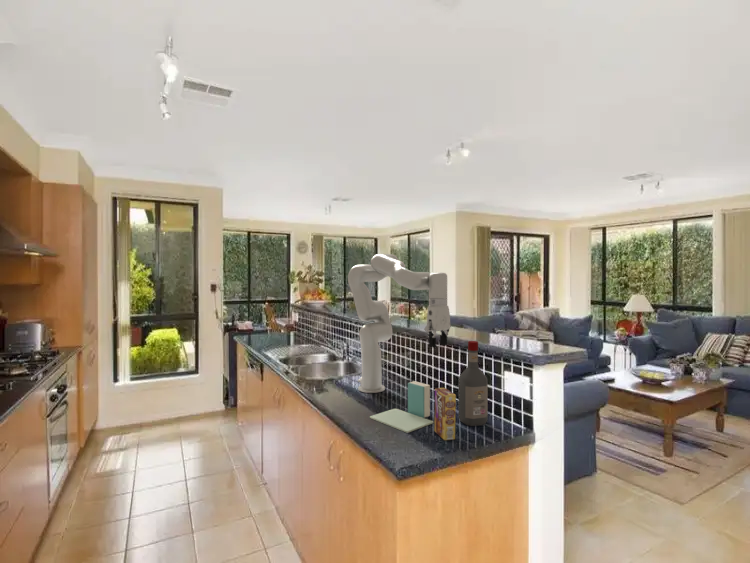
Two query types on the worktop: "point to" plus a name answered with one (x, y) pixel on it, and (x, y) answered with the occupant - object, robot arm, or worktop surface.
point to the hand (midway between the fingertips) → (438, 345)
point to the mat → (401, 420)
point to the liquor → (473, 391)
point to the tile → (419, 399)
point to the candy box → (445, 413)
